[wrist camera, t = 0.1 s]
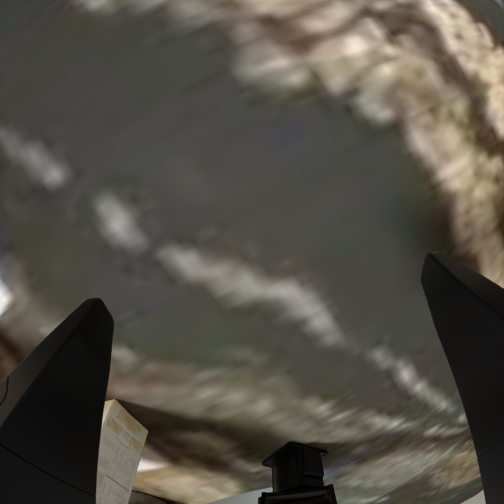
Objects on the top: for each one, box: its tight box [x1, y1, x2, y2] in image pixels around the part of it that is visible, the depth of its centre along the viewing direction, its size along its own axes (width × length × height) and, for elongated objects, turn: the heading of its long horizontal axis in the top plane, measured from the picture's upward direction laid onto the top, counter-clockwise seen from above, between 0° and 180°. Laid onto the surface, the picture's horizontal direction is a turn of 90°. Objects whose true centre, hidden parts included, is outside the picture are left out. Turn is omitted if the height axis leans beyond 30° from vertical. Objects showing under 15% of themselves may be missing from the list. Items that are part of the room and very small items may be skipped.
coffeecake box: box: [96, 399, 148, 504], centre depth 24 cm, size 15×7×20 cm, turn 117°
